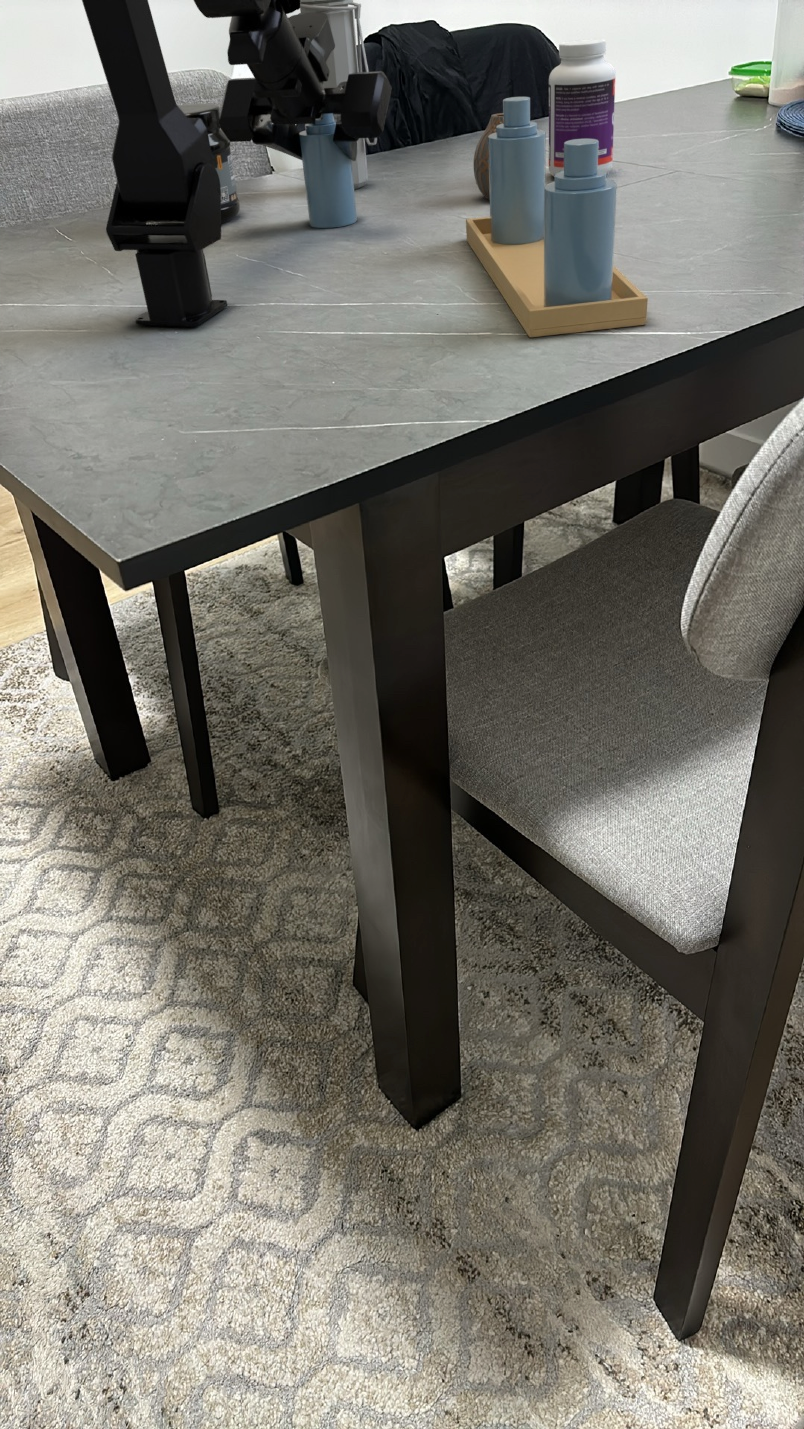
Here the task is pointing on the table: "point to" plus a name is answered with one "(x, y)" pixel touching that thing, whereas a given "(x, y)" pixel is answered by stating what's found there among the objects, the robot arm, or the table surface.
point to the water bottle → (344, 59)
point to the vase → (485, 156)
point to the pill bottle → (581, 101)
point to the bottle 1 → (517, 176)
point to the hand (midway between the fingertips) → (331, 157)
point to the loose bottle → (327, 176)
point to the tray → (524, 282)
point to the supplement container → (217, 156)
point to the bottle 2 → (579, 229)
